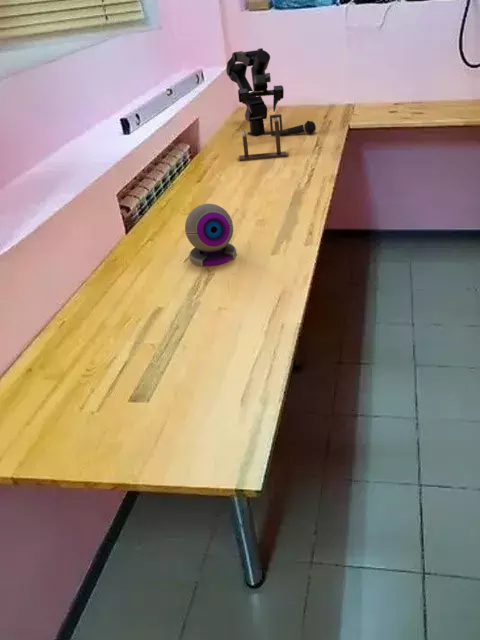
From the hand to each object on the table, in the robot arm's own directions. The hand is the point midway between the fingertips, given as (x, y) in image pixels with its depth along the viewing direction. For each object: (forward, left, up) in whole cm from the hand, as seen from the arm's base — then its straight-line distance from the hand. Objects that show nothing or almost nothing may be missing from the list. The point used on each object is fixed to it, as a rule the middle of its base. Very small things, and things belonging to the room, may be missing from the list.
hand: (263, 112), depth 255 cm
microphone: (-3, +19, -14) cm, 24 cm away
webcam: (+74, -79, -14) cm, 110 cm away
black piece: (+13, -4, -6) cm, 15 cm away
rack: (+11, -11, -14) cm, 20 cm away
